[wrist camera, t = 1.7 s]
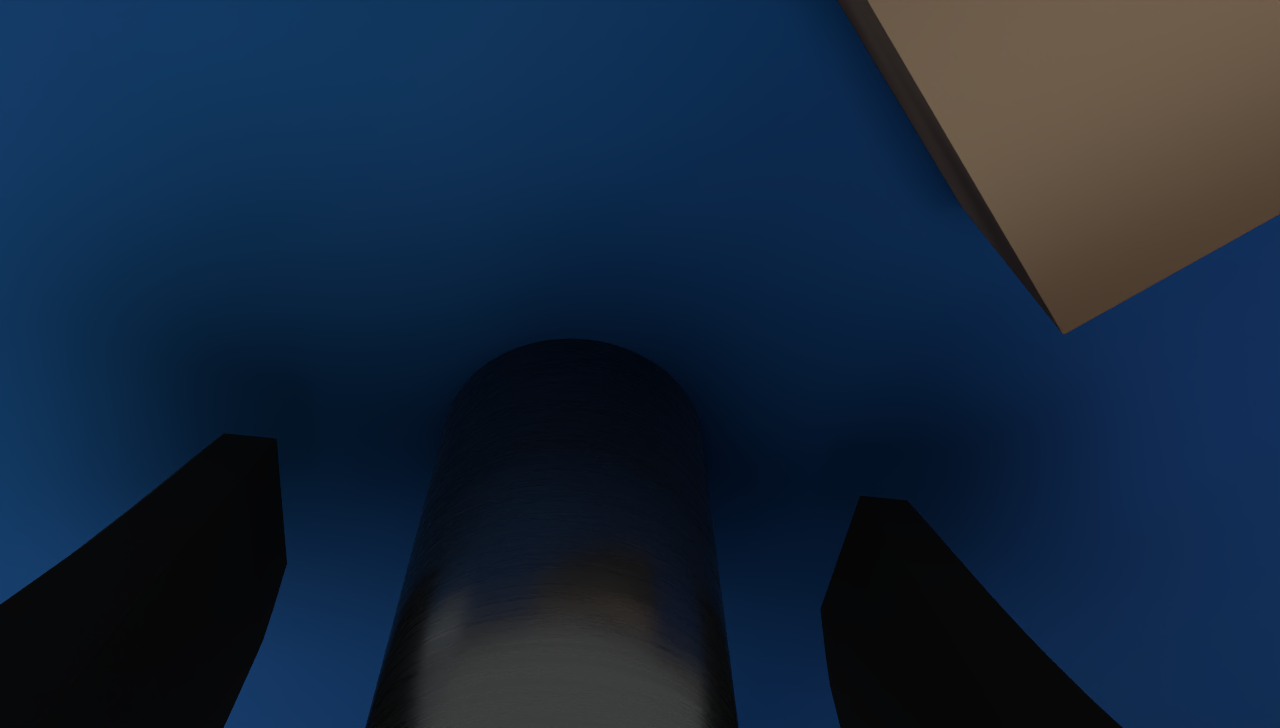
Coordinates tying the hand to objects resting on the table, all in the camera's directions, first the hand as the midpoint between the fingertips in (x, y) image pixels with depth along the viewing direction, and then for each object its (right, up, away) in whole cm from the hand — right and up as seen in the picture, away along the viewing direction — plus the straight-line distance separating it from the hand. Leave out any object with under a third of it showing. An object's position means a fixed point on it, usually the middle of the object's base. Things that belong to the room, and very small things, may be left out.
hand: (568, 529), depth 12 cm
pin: (0, +1, +1) cm, 2 cm away
